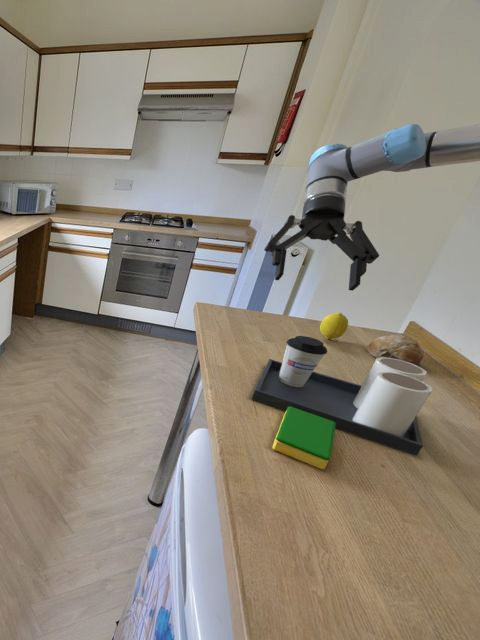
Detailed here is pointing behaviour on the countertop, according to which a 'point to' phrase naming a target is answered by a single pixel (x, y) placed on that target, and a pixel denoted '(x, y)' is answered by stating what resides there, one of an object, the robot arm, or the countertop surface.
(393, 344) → the bread roll
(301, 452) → the dish sponge
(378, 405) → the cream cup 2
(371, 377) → the cream cup
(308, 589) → the countertop surface
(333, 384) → the cup tray
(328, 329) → the lemon
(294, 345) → the coffee cup
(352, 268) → the robot arm
